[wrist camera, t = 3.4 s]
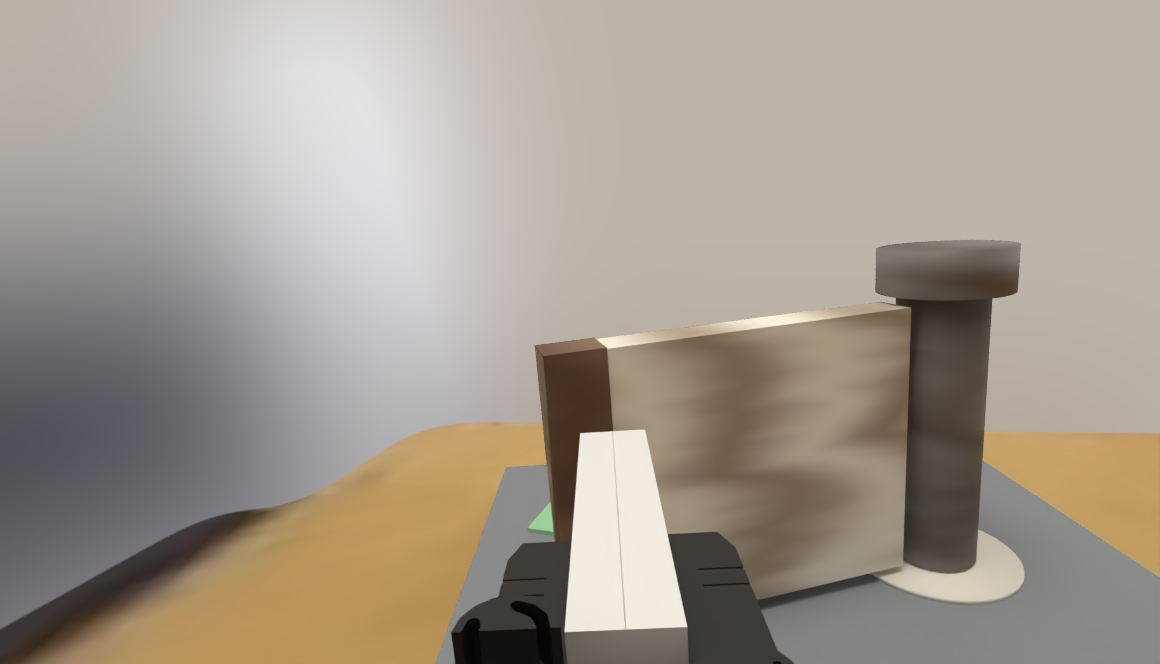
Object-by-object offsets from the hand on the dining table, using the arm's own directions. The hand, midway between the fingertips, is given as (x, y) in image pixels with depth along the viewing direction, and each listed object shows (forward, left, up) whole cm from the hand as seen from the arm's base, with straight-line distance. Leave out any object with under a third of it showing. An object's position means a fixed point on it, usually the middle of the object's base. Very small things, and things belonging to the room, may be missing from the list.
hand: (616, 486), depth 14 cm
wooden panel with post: (-6, -7, -8) cm, 13 cm away
